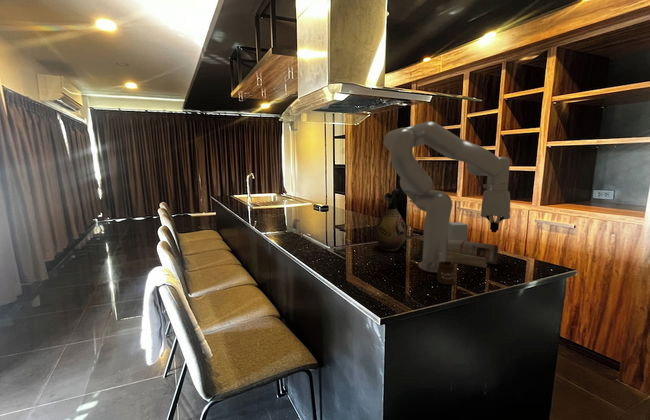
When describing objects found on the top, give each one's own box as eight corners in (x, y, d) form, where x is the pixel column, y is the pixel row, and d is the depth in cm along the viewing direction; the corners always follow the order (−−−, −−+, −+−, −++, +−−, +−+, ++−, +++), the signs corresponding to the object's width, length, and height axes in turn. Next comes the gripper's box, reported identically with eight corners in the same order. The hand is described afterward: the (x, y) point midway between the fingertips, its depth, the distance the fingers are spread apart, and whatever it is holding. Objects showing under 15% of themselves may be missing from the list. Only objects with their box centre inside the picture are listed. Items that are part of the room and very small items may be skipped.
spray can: (494, 268, 128) (444, 259, 140) (498, 260, 134) (449, 251, 146) (495, 250, 126) (444, 241, 138) (499, 242, 132) (450, 234, 144)
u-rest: (485, 267, 128) (485, 258, 128) (430, 259, 141) (431, 250, 140) (490, 259, 139) (491, 250, 138) (439, 251, 152) (439, 243, 151)
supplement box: (467, 250, 154) (468, 224, 152) (451, 250, 154) (452, 224, 153) (460, 246, 162) (462, 221, 160) (446, 246, 162) (447, 222, 160)
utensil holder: (434, 279, 117) (435, 247, 115) (450, 278, 117) (452, 247, 115) (441, 285, 111) (442, 252, 109) (458, 284, 111) (459, 251, 110)
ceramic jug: (398, 255, 148) (399, 191, 143) (369, 250, 157) (369, 190, 153) (412, 247, 161) (413, 188, 157) (385, 242, 170) (385, 187, 166)
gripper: (475, 187, 129) (472, 231, 132) (517, 189, 121) (513, 235, 123) (478, 186, 135) (476, 228, 138) (519, 187, 127) (515, 232, 129)
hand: (494, 231), depth 131 cm, fingers closed
